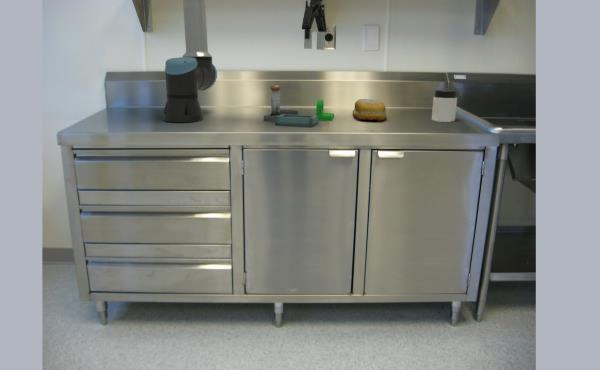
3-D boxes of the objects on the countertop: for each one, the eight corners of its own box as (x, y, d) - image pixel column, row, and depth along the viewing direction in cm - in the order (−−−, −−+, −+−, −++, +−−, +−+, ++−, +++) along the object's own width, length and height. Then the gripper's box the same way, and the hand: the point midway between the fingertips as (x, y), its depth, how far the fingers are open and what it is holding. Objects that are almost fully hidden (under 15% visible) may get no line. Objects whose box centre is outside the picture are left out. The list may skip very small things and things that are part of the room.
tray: (275, 125, 176) (275, 116, 176) (283, 122, 185) (283, 114, 184) (312, 127, 173) (312, 118, 172) (318, 123, 182) (318, 115, 181)
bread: (355, 122, 189) (356, 101, 187) (349, 115, 215) (350, 96, 213) (390, 123, 189) (391, 102, 187) (381, 115, 215) (382, 96, 213)
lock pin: (268, 120, 189) (268, 85, 186) (271, 119, 193) (271, 85, 190) (279, 121, 188) (279, 86, 184) (282, 120, 192) (282, 85, 189)
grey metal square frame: (263, 121, 188) (263, 115, 187) (269, 119, 194) (269, 113, 194) (281, 121, 186) (281, 116, 186) (286, 119, 193) (286, 114, 192)
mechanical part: (331, 121, 191) (332, 100, 190) (316, 121, 192) (316, 100, 190) (334, 118, 203) (335, 98, 201) (320, 117, 204) (320, 97, 202)
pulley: (272, 117, 198) (272, 107, 197) (279, 115, 207) (279, 105, 206) (294, 118, 196) (294, 108, 195) (300, 116, 204) (300, 106, 203)
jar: (458, 122, 193) (461, 91, 190) (441, 123, 190) (444, 91, 187) (445, 119, 201) (447, 89, 198) (427, 120, 198) (430, 89, 195)
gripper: (313, -17, 168) (312, 48, 173) (335, -8, 191) (333, 49, 196) (293, -17, 171) (292, 48, 176) (317, -7, 193) (315, 49, 199)
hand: (314, 49), depth 186 cm, fingers open, 13 cm apart
